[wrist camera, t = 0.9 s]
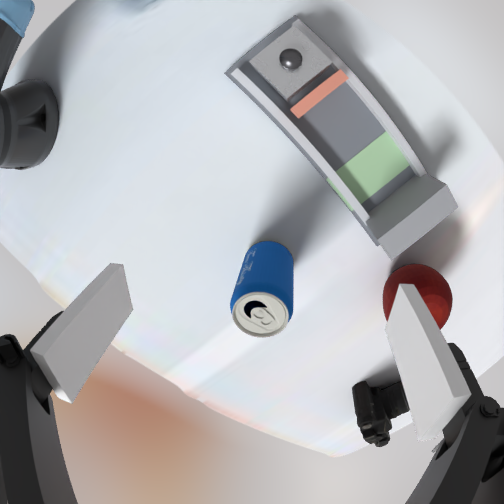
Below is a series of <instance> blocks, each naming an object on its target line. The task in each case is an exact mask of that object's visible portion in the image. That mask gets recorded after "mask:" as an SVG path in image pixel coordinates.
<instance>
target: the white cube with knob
mask: <svg viewBox="0 0 504 504" xmlns="http://www.w3.org/2000/svg"><path fill="white" fill-rule="evenodd" d="M249 62H250V63H251V65H252V66H253V67H254V69H255V70H256V72H258V73H259V74H260V75H261V76H262V77H263V78H264V79H265V80H266V81H267V82H268V83H269V84H270V85H271V86H272V87H273V88H274V89H275V90H276V91H277V92H278V93H279V94H280V95H281V96H282V97H283V98H284V99H285V100H286V101H287V102H289V101H290V100H291V99H292V98H293V97H295V96H296V95H297V94H298V93H300V92H301V91H302V90H303V89H304V88H306V87H307V86H308V85H309V84H311V83H312V82H313V81H314V80H316V79H317V78H318V77H320V76H321V75H322V74H323V73H325V72H326V70H327V69H328V68H329V66H330V65H331V64H332V61H331V60H330V59H329V58H328V57H327V56H326V55H325V54H324V53H323V52H322V51H321V50H320V49H319V48H318V47H317V46H316V45H315V44H314V43H312V42H311V41H310V40H309V39H308V38H307V37H306V36H305V35H304V34H303V33H302V32H301V31H300V30H299V29H297V28H296V27H295V26H293V27H291V28H290V29H289V30H287V31H286V32H285V33H283V34H282V35H281V36H279V37H278V38H277V39H276V40H274V41H273V42H272V43H271V44H269V45H268V46H267V47H266V48H264V49H263V50H262V51H261V52H260V53H258V54H257V55H256V56H255V57H254V58H252V59H251V60H250V61H249Z"/></svg>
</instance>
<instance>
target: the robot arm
mask: <svg viewBox="0 0 504 504" xmlns="http://www.w3.org/2000/svg"><path fill="white" fill-rule="evenodd" d="M34 7H35V6H34V3H33V1H32V0H0V168H6V169H18V170H24V169H28V168H31V167H34V166H37V165H39V164H40V163H41V162H43V161H44V160H45V158H46V157H47V156H48V154H49V153H50V151H51V149H52V147H53V144H54V141H55V138H56V134H57V128H58V106H57V101H56V98H55V95H54V93H53V91H52V89H51V88H50V86H49V85H48V84H47V83H45V82H44V81H41V80H25V81H22V82H19V83H18V84H16V85H14V86H12V87H10V88H7V89H5V90H3V91H1V89H2V86H3V83H4V80H5V77H6V75H7V72H8V69H9V67H10V65H11V62H12V60H13V57H14V55H15V53H16V51H17V48H18V46H19V44H20V42H21V40H22V38H24V35H25V31H26V28H27V26H28V24H29V22H30V20H31V18H32V15H33V13H34V9H35V8H34ZM132 311H133V307H132V303H131V298H130V294H129V290H128V285H127V281H126V276H125V271H124V266H123V264H114V263H110V264H109V265H108V266H107V267H106V268H105V269H104V270H103V271H102V272H101V273H100V274H99V275H98V276H97V277H96V278H95V279H94V280H93V281H92V282H91V283H90V284H89V285H88V286H87V287H86V288H85V289H84V290H83V291H82V292H81V294H80V295H79V296H78V297H77V298H76V299H75V300H74V301H73V302H72V303H71V304H70V305H69V306H68V307H67V308H66V310H65V311H61V312H59V313H58V314H56V315H55V316H53V317H52V318H51V319H50V320H49V321H48V322H47V324H46V326H44V327H43V328H42V329H41V331H39V333H38V334H37V335H36V336H35V337H34V338H33V339H32V341H31V342H30V343H29V344H28V345H27V346H26V348H25V349H24V350H22V348H21V346H20V344H19V342H18V340H17V339H16V337H15V336H14V335H11V334H7V335H3V336H1V337H0V504H7V500H8V504H78V503H77V500H76V498H75V494H74V492H73V488H72V485H71V482H70V479H69V475H68V472H67V468H66V465H65V461H64V457H63V454H62V449H61V444H60V440H59V435H58V431H57V425H56V420H55V414H54V408H53V401H52V398H51V396H50V392H51V391H52V389H53V390H54V392H55V393H56V395H57V396H58V398H60V399H62V400H64V401H67V402H69V403H73V401H74V400H75V398H76V396H77V395H78V393H79V391H80V390H81V388H82V386H83V385H84V383H85V382H86V380H87V379H88V377H89V375H90V374H91V372H92V371H93V369H94V367H95V366H96V364H97V363H98V361H99V360H100V358H101V357H102V355H103V354H104V352H105V350H106V349H107V347H108V346H109V344H110V343H111V342H112V340H113V339H114V337H115V336H116V334H117V333H118V331H119V330H120V328H121V327H122V325H123V324H124V322H125V321H126V319H127V318H128V317H129V315H130V314H131V312H132ZM385 332H386V335H387V338H388V340H389V343H390V346H391V349H392V352H393V355H394V358H395V361H396V364H397V368H398V371H399V374H400V377H401V380H402V384H403V387H404V390H405V394H406V397H407V401H408V404H409V408H410V412H411V416H412V419H413V423H414V426H415V431H416V435H417V439H418V442H421V441H426V440H432V439H435V438H436V437H437V436H438V435H439V434H440V433H441V431H443V434H444V439H443V440H442V441H441V442H440V443H439V444H438V445H437V446H436V447H435V448H434V449H433V450H432V452H433V453H434V452H435V451H436V450H437V451H436V453H435V454H434V456H433V458H432V460H431V462H430V464H429V466H428V468H427V469H426V471H425V473H424V475H423V476H422V478H421V480H420V482H419V483H418V485H417V486H416V488H415V489H414V491H413V493H412V494H411V496H410V497H409V499H408V500H407V502H406V503H405V504H504V408H500V405H499V404H498V403H497V402H496V400H494V399H493V398H491V397H488V396H484V395H483V393H482V391H481V388H480V386H479V384H478V382H477V380H476V378H475V376H474V374H473V372H472V370H471V369H470V366H469V364H468V362H466V358H465V356H464V354H463V352H462V351H461V350H460V349H459V348H458V347H457V346H456V345H455V344H454V343H447V342H446V340H445V338H444V336H443V335H442V333H441V331H440V329H439V327H438V325H437V324H436V322H435V320H434V318H433V316H432V315H431V313H430V311H429V309H428V308H427V306H426V304H425V302H424V301H423V299H422V297H421V296H420V294H419V292H418V291H417V289H416V287H415V286H414V284H399V287H398V291H397V294H396V297H395V300H394V304H393V307H392V310H391V313H390V316H389V319H388V322H387V325H386V328H385Z"/></svg>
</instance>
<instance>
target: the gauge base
mask: <svg viewBox="0 0 504 504" xmlns="http://www.w3.org/2000/svg"><path fill="white" fill-rule="evenodd" d="M293 26H295V27H296V28H297V29H299V30H300V31H301V32H302V33H303V34H304V35H305V36H306V37H307V38H308V39H309V40H310V41H311V42H312V43H314V44H315V45H316V46H317V47H318V48H319V49H320V50H321V51H322V52H323V53H324V54H325V55H326V56H327V57H328V58H329V59H330V60H331V61H332V64H331V65H330V66H329V68H328V69H327V70H326V72H325V73H323V74H322V75H321V76H320V77H318V78H317V79H316V80H314V81H313V82H312V83H311V84H309V85H308V86H307V87H306V88H304V89H303V90H302V91H301V92H300V93H298V94H297V95H296V96H295V97H293V98H292V99H291V100H290V101H289V102H287V101H286V100H285V99H284V98H283V97H282V96H281V95H280V94H279V93H278V92H277V91H276V90H275V89H274V88H273V87H272V86H271V85H270V84H269V83H268V82H267V81H266V80H265V79H264V78H263V77H262V76H261V75H260V74H259V73H258V72H256V70H255V69H254V67H253V66H252V65H251V63H250V62H249V61H250V60H251V59H252V58H254V57H255V56H256V55H257V54H258V53H260V52H261V51H262V50H263V49H264V48H266V47H267V46H268V45H269V44H271V43H272V42H273V41H274V40H276V39H277V38H278V37H279V36H281V35H282V34H283V33H285V32H286V31H287V30H289V29H290V28H291V27H293ZM340 69H341V70H342V71H343V72H344V73H345V74H346V76H347V77H348V78H349V79H348V80H346V81H345V82H344V83H342V84H341V85H340V86H338V87H337V88H336V89H335V90H333V91H332V92H331V93H330V94H328V95H327V96H326V97H325V98H323V99H322V100H321V101H320V102H318V103H317V104H316V105H315V106H313V107H312V108H311V109H310V110H309V111H307V112H306V113H305V114H304V115H302V116H301V117H300V118H297V117H296V116H295V115H294V114H293V113H292V112H291V111H290V110H291V108H292V107H293V106H295V105H296V104H297V103H298V102H299V101H301V100H302V99H303V98H304V97H305V96H307V95H308V94H309V93H310V92H312V91H313V90H314V89H315V88H317V87H318V86H319V85H320V84H322V83H323V82H324V81H325V80H327V79H328V78H329V77H331V76H332V75H333V74H335V73H336V72H337V71H338V70H340ZM224 74H225V75H227V76H228V77H229V78H230V79H231V80H232V81H233V82H234V83H235V84H236V85H237V86H238V87H239V88H240V89H241V90H242V91H243V92H244V93H245V94H246V95H247V96H249V97H250V98H251V99H252V100H253V101H254V102H255V103H256V104H257V105H258V106H259V107H260V108H261V109H262V110H263V112H264V113H265V114H266V115H267V116H268V117H269V118H270V119H271V120H272V121H273V122H274V123H275V124H276V125H277V126H278V127H279V128H280V129H281V130H282V131H283V132H284V134H285V135H286V136H287V137H288V138H289V139H290V140H291V141H292V142H293V143H294V144H295V146H296V147H297V148H298V149H299V150H300V151H301V152H302V153H303V155H304V156H305V157H306V158H307V159H308V160H309V161H310V162H311V164H312V165H313V166H314V167H315V168H316V169H317V171H318V172H319V173H320V174H321V175H322V177H323V178H324V179H325V180H326V181H327V183H328V184H329V185H330V186H331V187H332V189H333V190H334V191H335V192H336V194H337V195H338V196H339V197H340V198H341V200H342V201H343V202H344V204H345V205H346V206H347V207H348V209H349V210H350V211H351V212H352V214H353V215H354V216H355V218H356V219H357V220H358V222H359V223H360V224H361V226H362V227H363V228H364V230H365V231H366V232H367V234H368V235H369V236H370V238H371V239H372V240H373V242H374V243H375V245H376V246H379V245H381V246H382V248H383V249H384V250H385V252H386V253H387V255H388V256H389V258H390V259H391V260H393V259H394V258H395V257H397V256H398V255H399V254H401V253H402V252H403V251H405V250H406V249H407V248H408V247H410V246H411V245H412V244H414V243H415V242H416V241H418V240H419V239H420V238H421V237H423V236H424V235H425V234H426V233H428V232H429V231H430V230H431V229H433V228H434V227H435V226H436V225H437V224H439V223H440V222H441V221H442V220H444V219H445V218H446V217H447V216H448V215H449V214H451V213H452V212H453V211H454V210H455V209H457V208H458V205H457V203H456V201H455V199H454V197H453V195H452V194H451V192H450V190H449V188H448V186H447V184H445V183H443V182H441V181H439V180H437V179H435V178H433V177H431V176H429V175H428V173H427V171H426V170H425V168H424V167H423V165H422V163H421V162H420V160H419V159H418V157H417V155H416V154H415V152H414V151H413V149H412V148H411V146H410V145H409V143H408V142H407V140H406V139H405V137H404V136H403V135H402V133H401V132H400V130H399V129H398V127H397V126H396V125H395V123H394V122H393V121H392V119H391V118H390V117H389V115H388V114H387V113H386V111H385V110H384V109H383V107H382V106H381V105H380V104H379V102H378V101H377V100H376V99H375V97H374V96H373V95H372V94H371V92H370V91H369V90H368V89H367V88H366V86H365V85H364V84H363V83H362V82H361V81H360V79H359V78H358V77H357V76H356V75H355V74H354V73H353V71H352V70H351V69H350V68H349V67H348V66H347V65H346V64H345V63H344V62H343V61H342V60H341V58H340V57H339V56H338V55H337V54H336V53H335V52H334V51H333V50H332V49H331V48H330V47H329V46H328V45H327V44H326V43H325V42H324V41H323V40H322V39H321V38H320V37H319V36H318V35H317V34H315V33H314V32H313V31H312V30H311V29H310V28H309V27H308V26H307V25H306V24H305V23H303V22H302V21H301V20H300V19H299V18H298V17H297V16H293V17H292V18H291V19H289V20H288V21H287V22H285V23H284V24H283V25H281V26H280V27H279V28H277V29H276V30H275V31H273V32H272V33H271V34H270V35H268V36H267V37H266V38H265V39H263V40H262V41H261V42H260V43H258V44H257V45H256V46H255V47H254V48H252V49H251V50H250V51H249V52H248V53H246V54H245V55H244V56H243V57H242V58H241V59H239V60H238V61H237V62H236V63H235V64H234V65H233V66H232V67H230V68H229V69H228V70H227V71H226V72H225V73H224Z"/></svg>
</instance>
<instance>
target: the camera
mask: <svg viewBox="0 0 504 504" xmlns="http://www.w3.org/2000/svg"><path fill="white" fill-rule="evenodd" d="M352 393H353V400H354V407H355V413H356V416H357V424H358V426H359V427H360V431H361V433H362V434H363V438H364V439H365V441H366V442H368V443H370V444H372V443H375V445H376V446H377V447H382V446H384V445H386V444H388V441H389V440H390V436H389V432H388V431H389V430H391V429H392V424H391V421H390V419H392V418H396V417H397V416H399V415H401V414H403V413H406V412H408V411H409V410H410V408H409V404H408V401H407V397H406V394H405V390H404V387H403V384H402V382H399V383H396V384H394V385H392V386H390V387H388V388H386V389H384V390H380V389H379V388H378V387H374V388H370V387H369V386H368V384H367V383H366V382H365V381H364V382H360V383H357V384H356V385H354V386H353V387H352Z"/></svg>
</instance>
